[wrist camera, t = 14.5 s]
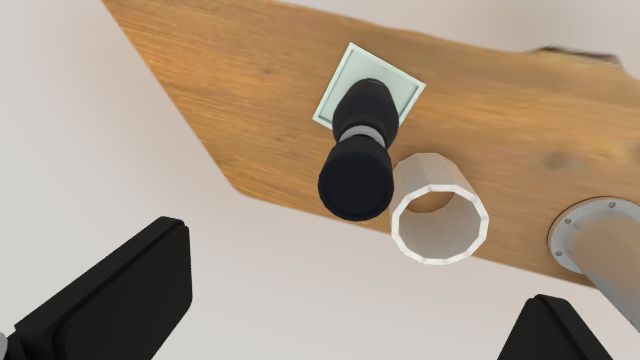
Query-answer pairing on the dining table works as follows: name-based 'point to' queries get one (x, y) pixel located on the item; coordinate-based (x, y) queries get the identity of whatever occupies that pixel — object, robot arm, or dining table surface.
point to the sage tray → (361, 67)
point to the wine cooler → (440, 225)
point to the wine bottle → (360, 153)
